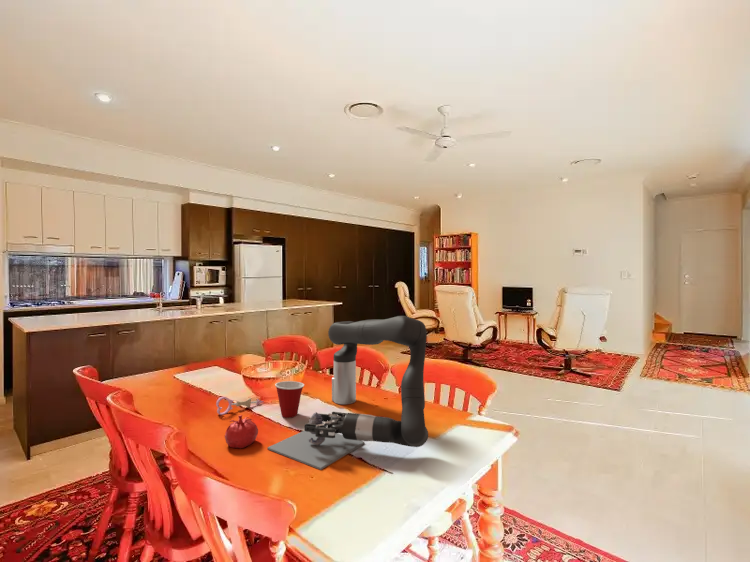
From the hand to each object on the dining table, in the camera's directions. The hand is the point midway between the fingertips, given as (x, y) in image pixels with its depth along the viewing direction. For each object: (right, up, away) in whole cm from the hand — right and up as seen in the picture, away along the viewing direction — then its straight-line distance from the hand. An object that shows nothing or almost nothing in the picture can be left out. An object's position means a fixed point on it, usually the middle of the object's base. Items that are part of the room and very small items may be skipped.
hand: (310, 421), depth 123 cm
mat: (+2, -8, 0) cm, 8 cm away
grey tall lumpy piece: (+2, -7, 0) cm, 7 cm away
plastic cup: (-12, -7, +27) cm, 30 cm away
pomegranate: (-22, -8, +2) cm, 24 cm away
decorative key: (-33, -7, +33) cm, 47 cm away
